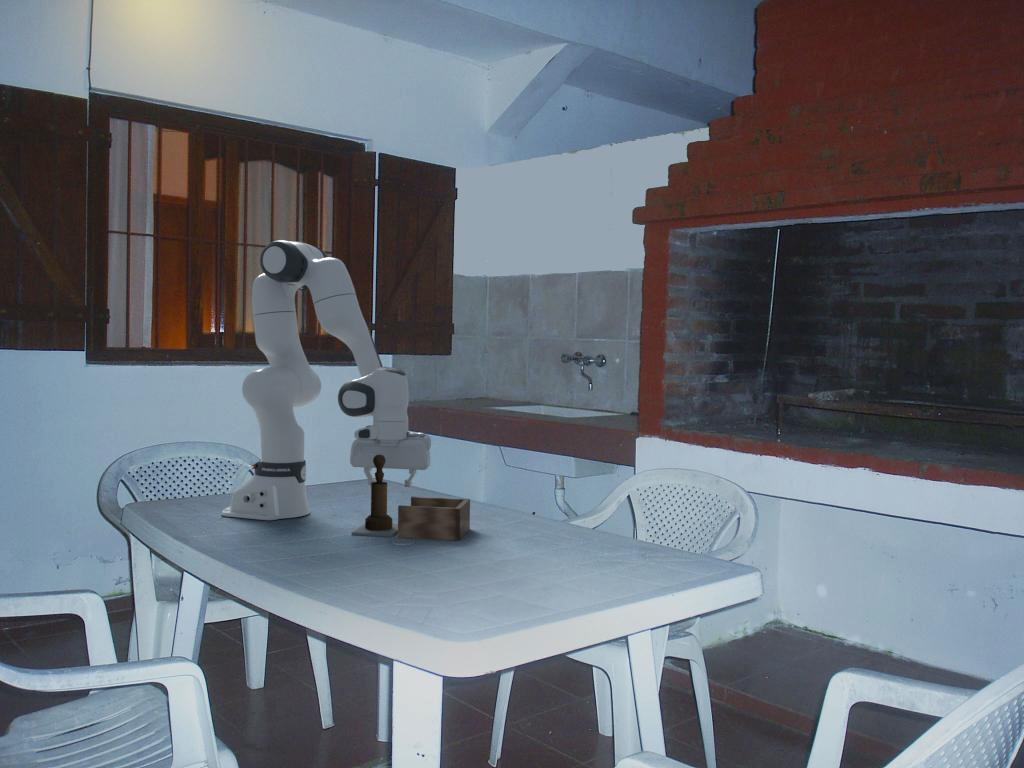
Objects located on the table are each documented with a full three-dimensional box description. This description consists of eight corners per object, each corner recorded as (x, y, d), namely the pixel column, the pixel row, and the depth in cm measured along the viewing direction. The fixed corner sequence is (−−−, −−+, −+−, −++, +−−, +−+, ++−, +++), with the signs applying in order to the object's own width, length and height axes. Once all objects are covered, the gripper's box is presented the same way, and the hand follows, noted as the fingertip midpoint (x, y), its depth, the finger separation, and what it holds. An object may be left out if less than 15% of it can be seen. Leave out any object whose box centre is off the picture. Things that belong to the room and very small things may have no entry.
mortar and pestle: (395, 525, 219) (395, 453, 218) (388, 531, 213) (389, 457, 212) (368, 524, 220) (369, 452, 219) (361, 530, 213) (362, 456, 212)
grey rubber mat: (351, 534, 211) (351, 532, 211) (366, 524, 223) (366, 522, 223) (392, 536, 209) (392, 534, 209) (405, 526, 221) (405, 523, 221)
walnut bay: (397, 537, 209) (398, 506, 208) (411, 526, 222) (411, 496, 221) (459, 540, 207) (459, 508, 206) (469, 528, 220) (470, 499, 219)
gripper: (433, 431, 224) (433, 485, 225) (356, 429, 227) (355, 482, 228) (428, 434, 218) (427, 489, 219) (348, 431, 221) (347, 486, 222)
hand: (390, 486), depth 223 cm, fingers open, 8 cm apart
